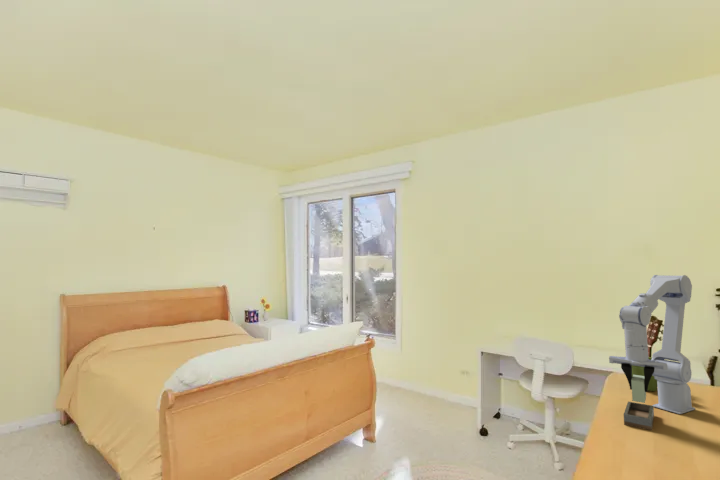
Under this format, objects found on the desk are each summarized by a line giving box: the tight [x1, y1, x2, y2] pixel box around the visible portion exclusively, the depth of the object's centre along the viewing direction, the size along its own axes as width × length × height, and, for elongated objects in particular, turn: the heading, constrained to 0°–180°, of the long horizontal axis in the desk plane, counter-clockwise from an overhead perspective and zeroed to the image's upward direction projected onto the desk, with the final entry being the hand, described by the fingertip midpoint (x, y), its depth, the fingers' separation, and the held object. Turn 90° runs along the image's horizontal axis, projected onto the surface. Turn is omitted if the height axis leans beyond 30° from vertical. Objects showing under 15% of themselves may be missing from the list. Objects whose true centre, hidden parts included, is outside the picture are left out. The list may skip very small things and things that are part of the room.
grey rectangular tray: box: [623, 401, 655, 431], centre depth 118 cm, size 14×7×3 cm, turn 141°
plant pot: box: [632, 356, 658, 392], centre depth 148 cm, size 12×12×11 cm
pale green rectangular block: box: [631, 375, 647, 404], centre depth 118 cm, size 8×3×6 cm, turn 141°
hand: (638, 390), depth 119 cm, fingers closed on pale green rectangular block, 3 cm apart
